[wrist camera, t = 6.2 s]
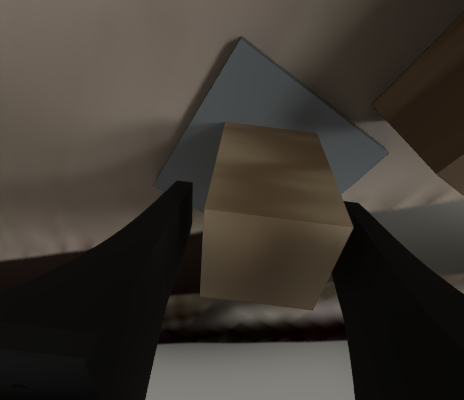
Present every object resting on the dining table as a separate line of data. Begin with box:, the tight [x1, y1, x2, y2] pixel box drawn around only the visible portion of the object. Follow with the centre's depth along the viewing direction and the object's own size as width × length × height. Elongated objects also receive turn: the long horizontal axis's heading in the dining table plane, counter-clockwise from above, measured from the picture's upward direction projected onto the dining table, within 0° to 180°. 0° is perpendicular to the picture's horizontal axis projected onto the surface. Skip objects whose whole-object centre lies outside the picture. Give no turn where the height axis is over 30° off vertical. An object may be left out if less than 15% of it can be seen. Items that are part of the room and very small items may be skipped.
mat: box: [154, 36, 389, 212], centre depth 14 cm, size 8×8×1 cm
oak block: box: [200, 122, 354, 310], centre depth 11 cm, size 4×4×6 cm
